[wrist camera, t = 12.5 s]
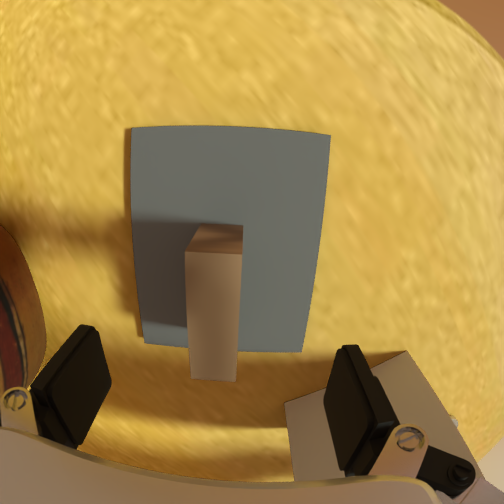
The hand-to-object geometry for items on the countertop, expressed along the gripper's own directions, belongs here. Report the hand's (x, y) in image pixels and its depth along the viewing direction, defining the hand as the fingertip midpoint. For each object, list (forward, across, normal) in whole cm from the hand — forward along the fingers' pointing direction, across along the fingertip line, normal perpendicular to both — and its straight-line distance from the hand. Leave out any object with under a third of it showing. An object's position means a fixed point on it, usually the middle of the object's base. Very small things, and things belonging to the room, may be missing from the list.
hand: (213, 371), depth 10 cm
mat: (+13, +1, -1) cm, 13 cm away
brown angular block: (+12, +1, +2) cm, 12 cm away
